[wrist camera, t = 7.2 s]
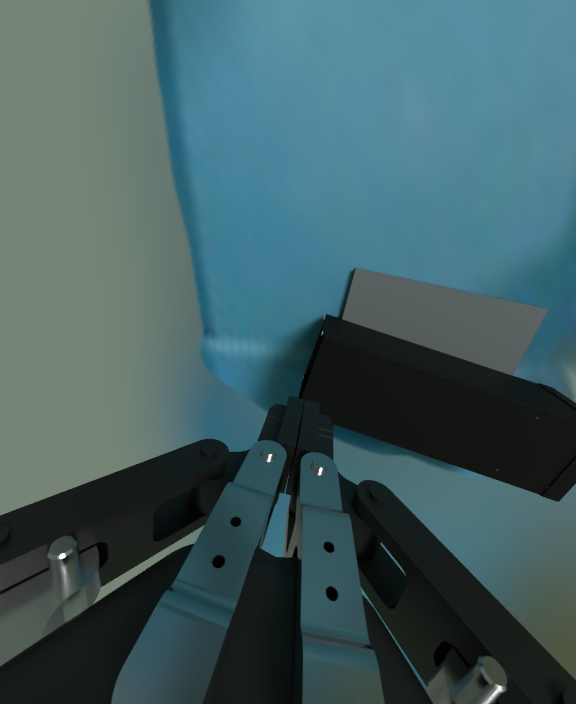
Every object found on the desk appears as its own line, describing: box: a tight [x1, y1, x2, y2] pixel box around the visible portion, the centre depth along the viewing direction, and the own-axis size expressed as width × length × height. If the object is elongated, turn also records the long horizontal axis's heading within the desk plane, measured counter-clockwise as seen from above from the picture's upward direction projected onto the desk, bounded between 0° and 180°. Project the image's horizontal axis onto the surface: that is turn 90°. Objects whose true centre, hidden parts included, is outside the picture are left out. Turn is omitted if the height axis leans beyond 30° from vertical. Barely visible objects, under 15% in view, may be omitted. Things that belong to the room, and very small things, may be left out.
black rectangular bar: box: [299, 314, 576, 501], centre depth 28 cm, size 8×8×28 cm
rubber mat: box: [342, 268, 548, 376], centre depth 31 cm, size 12×18×1 cm, turn 79°
